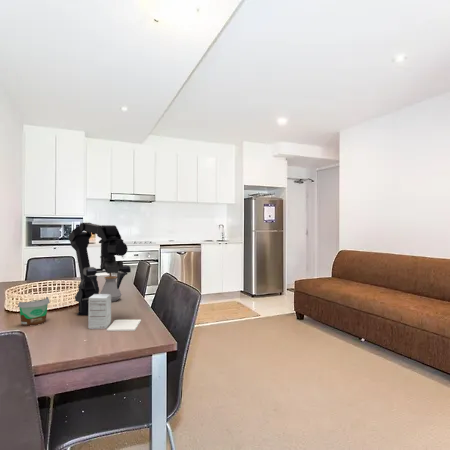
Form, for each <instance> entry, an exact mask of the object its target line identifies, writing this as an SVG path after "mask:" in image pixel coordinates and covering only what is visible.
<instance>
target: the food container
mask: <svg viewBox="0 0 450 450" xmlns="http://www.w3.org/2000/svg"><path fill="white" fill-rule="evenodd" d="M49 304H50V298H49V297H48V296H46V298H42V299H33V300H31V301H18V304H17V308H19V316H20V317H19V318H20V326H22V327H31V326H30V325H35V326H39V325H38V324H40V325H43V324H45V323H46V322H47V313H48V305H49ZM44 322H45V323H44ZM42 323H43V324H42Z"/></svg>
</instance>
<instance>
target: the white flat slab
mask: <svg viewBox="0 0 450 450" xmlns="http://www.w3.org/2000/svg"><path fill="white" fill-rule="evenodd" d="M141 322H142V319H115V320H113V322H111V324H110V325H109V326H108V327H107V328H106V332H135V331H136V330H137V328H138V326H139V325H140V323H141Z"/></svg>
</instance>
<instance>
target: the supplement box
mask: <svg viewBox="0 0 450 450" xmlns="http://www.w3.org/2000/svg"><path fill="white" fill-rule="evenodd" d="M87 316H88V318H87V319H88V330H103V329H106V330H107V329H108V327H109V326H110V325H111V324H112V302H111V294H100V293H99V294H94V295H92V296H91V297H89V309H88V315H87Z"/></svg>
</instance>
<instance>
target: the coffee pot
mask: <svg viewBox="0 0 450 450" xmlns="http://www.w3.org/2000/svg"><path fill="white" fill-rule="evenodd" d="M112 274H113V273H111V274H108V276H104V279H105V281H104V283H103V284H104V285H103V286H102V289H101V290H100V292H99V294H111V303H113V302H116V301H118V300H119V299H120V298H121V297H122V295H123V294H122V292H121V290H120V288H119V289H117V275H115V276H114V275H112Z"/></svg>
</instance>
